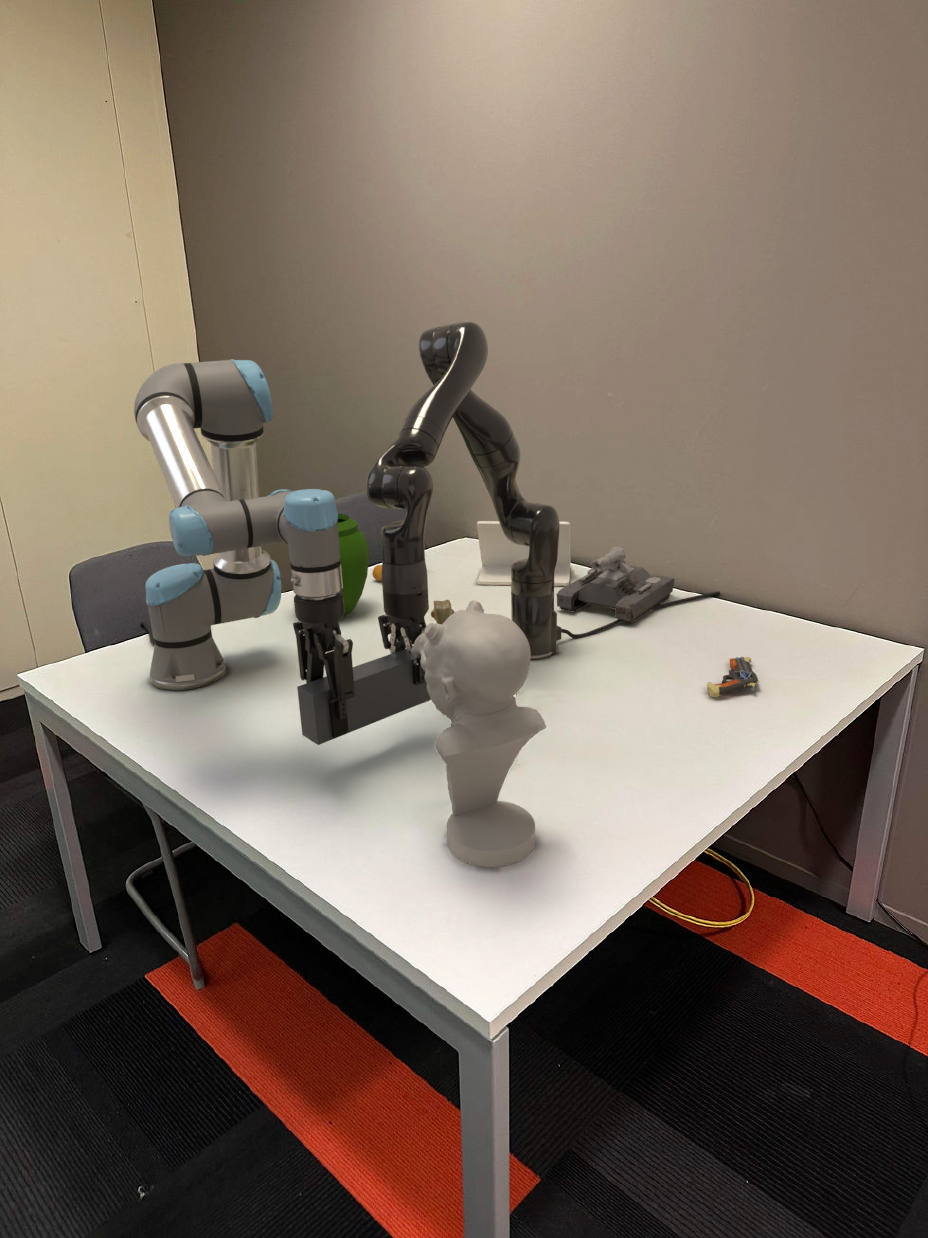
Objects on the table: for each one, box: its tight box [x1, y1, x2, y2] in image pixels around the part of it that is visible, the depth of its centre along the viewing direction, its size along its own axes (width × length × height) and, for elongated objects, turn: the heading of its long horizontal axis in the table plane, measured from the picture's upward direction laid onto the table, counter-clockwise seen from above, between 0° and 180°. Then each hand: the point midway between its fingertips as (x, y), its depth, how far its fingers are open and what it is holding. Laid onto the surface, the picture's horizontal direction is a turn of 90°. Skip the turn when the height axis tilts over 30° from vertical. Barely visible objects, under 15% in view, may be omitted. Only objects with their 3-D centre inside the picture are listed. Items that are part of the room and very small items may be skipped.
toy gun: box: [706, 656, 760, 698], centre depth 171 cm, size 3×19×10 cm
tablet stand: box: [476, 520, 572, 587], centre depth 236 cm, size 18×25×17 cm
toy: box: [556, 546, 676, 624], centre depth 212 cm, size 25×20×15 cm
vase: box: [288, 513, 370, 619], centre depth 209 cm, size 20×20×24 cm
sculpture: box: [430, 599, 456, 624], centre depth 177 cm, size 6×7×15 cm
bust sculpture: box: [411, 599, 547, 868], centre depth 121 cm, size 16×24×35 cm
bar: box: [296, 648, 431, 746], centre depth 142 cm, size 24×5×9 cm, turn 131°
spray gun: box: [371, 564, 382, 582], centre depth 240 cm, size 4×17×15 cm
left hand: (330, 728), depth 138 cm, fingers closed on bar, 5 cm apart
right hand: (410, 678), depth 147 cm, fingers closed on bar, 4 cm apart
